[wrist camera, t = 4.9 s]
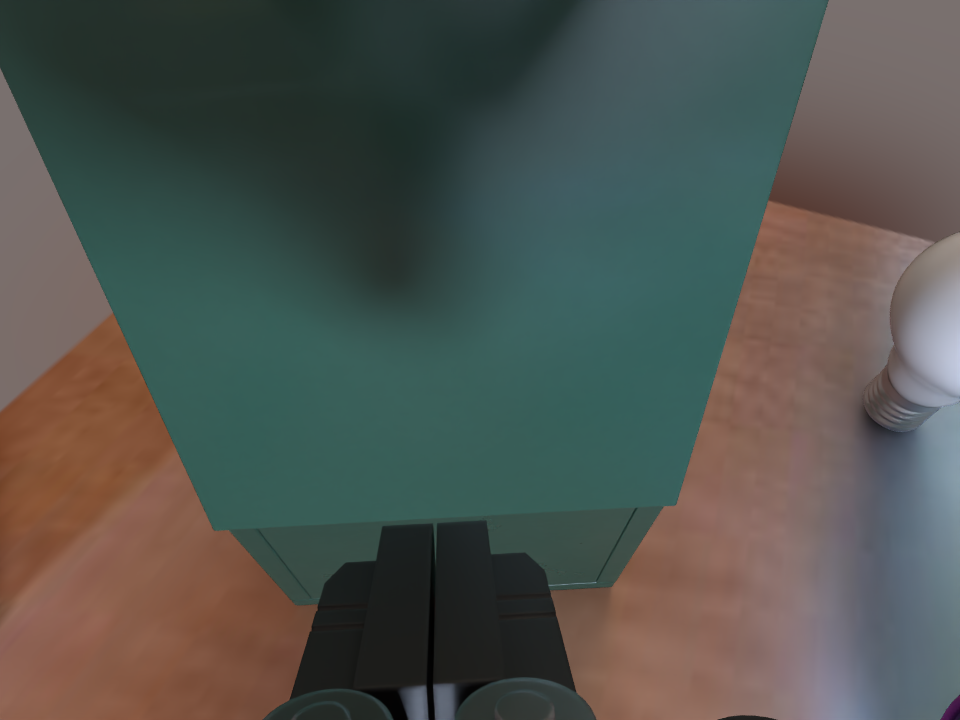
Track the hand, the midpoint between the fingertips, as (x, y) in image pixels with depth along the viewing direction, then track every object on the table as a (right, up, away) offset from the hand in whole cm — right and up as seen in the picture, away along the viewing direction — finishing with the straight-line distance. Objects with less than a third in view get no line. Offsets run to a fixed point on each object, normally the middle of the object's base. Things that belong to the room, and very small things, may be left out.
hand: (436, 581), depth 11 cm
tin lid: (0, +5, +5) cm, 7 cm away
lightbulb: (+19, +1, +23) cm, 30 cm away
